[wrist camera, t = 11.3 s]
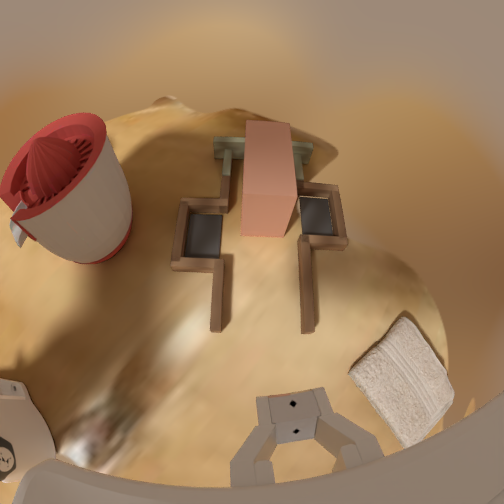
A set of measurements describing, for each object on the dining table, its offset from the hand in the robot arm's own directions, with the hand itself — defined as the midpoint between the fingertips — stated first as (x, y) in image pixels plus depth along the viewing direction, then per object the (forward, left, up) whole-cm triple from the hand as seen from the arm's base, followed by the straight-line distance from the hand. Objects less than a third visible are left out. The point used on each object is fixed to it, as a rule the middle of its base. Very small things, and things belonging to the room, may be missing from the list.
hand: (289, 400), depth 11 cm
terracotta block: (+1, +26, -22) cm, 34 cm away
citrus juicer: (-25, +19, -22) cm, 38 cm away
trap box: (+1, +20, -22) cm, 29 cm away
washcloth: (+21, -3, -22) cm, 31 cm away
